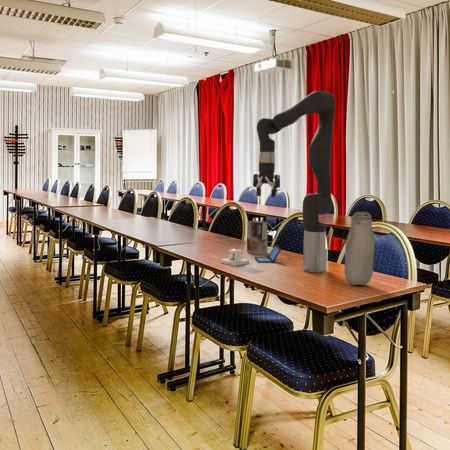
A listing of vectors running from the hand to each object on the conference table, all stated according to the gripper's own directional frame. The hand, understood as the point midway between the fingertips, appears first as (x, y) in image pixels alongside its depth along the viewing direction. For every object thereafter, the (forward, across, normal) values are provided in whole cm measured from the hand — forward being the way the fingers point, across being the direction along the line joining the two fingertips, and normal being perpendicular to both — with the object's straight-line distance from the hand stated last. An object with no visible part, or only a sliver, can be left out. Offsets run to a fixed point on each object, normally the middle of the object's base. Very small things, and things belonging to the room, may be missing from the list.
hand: (265, 196), depth 229 cm
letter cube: (+30, +2, +19) cm, 35 cm away
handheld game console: (+31, -4, +3) cm, 31 cm away
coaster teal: (+30, -8, +24) cm, 39 cm away
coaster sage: (+30, -9, +18) cm, 36 cm away
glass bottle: (+30, -56, +14) cm, 65 cm away
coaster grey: (+30, -15, +26) cm, 43 cm away
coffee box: (+30, +14, -12) cm, 35 cm away
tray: (+30, +2, +19) cm, 36 cm away
